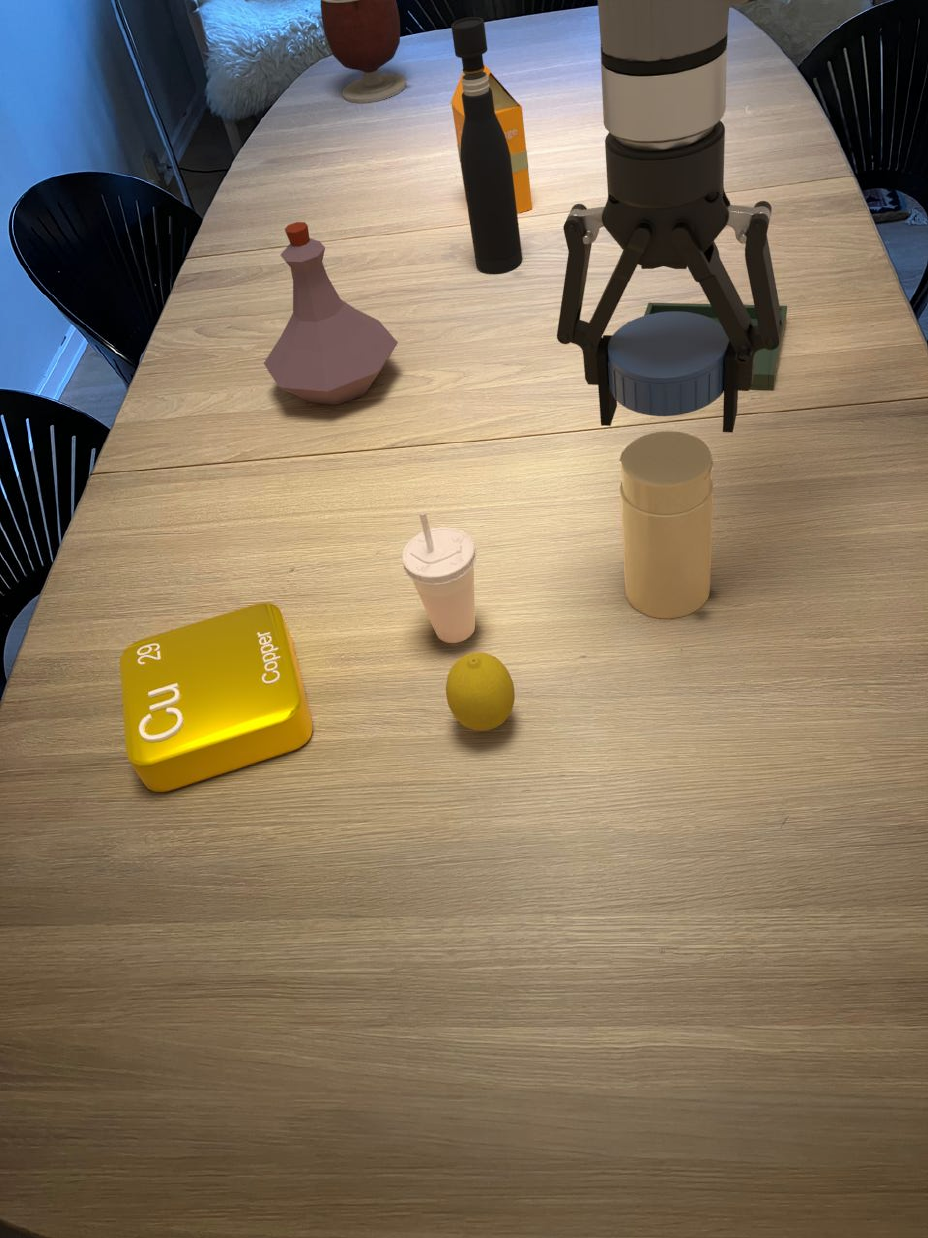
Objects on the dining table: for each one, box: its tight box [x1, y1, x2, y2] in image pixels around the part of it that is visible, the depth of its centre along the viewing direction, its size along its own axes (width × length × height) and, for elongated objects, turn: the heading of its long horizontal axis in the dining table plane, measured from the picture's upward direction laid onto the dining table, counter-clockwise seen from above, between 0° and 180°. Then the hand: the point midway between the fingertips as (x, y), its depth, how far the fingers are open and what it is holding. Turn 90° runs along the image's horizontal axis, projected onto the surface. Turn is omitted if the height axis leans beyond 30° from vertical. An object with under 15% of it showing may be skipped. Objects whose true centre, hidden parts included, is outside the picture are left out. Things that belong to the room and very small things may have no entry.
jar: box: [619, 430, 714, 620], centre depth 89 cm, size 8×8×15 cm
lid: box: [608, 311, 729, 417], centre depth 78 cm, size 9×9×3 cm
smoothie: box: [401, 510, 478, 644], centre depth 90 cm, size 6×6×14 cm
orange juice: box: [450, 64, 533, 215], centre depth 147 cm, size 8×9×20 cm
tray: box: [643, 302, 788, 391], centre depth 119 cm, size 16×14×2 cm
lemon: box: [445, 652, 516, 732], centre depth 84 cm, size 6×6×8 cm
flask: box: [263, 221, 399, 406], centre depth 119 cm, size 16×16×20 cm
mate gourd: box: [320, 0, 408, 104], centre depth 188 cm, size 16×14×20 cm
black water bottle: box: [450, 16, 523, 275], centre depth 131 cm, size 6×6×30 cm
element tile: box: [119, 602, 314, 793], centre depth 90 cm, size 15×15×5 cm
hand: (668, 418), depth 81 cm, fingers closed on lid, 9 cm apart
